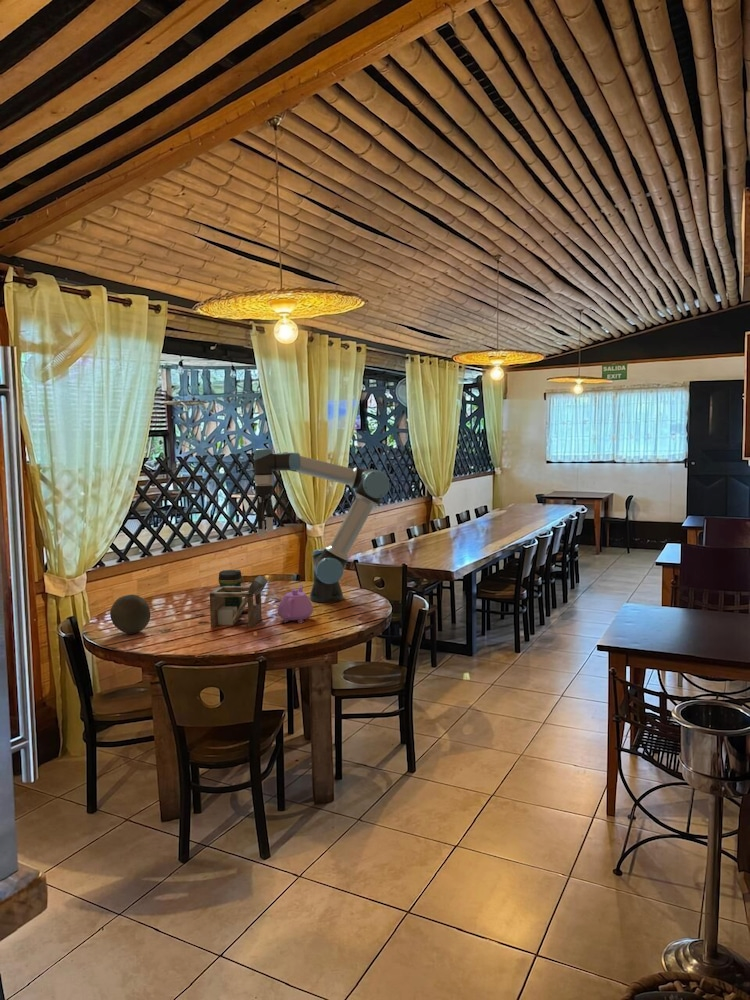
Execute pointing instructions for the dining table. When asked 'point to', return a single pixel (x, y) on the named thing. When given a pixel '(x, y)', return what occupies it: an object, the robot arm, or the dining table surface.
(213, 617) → the hatch frame
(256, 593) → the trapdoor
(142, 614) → the dark grey ball
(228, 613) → the grey cube
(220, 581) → the coffee jar
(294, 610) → the pink rounded figure
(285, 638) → the dining table surface
